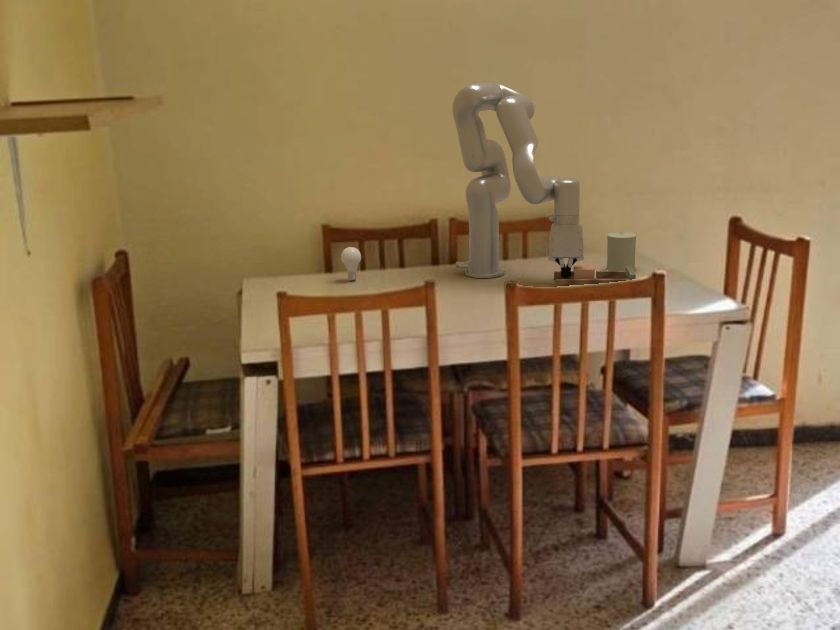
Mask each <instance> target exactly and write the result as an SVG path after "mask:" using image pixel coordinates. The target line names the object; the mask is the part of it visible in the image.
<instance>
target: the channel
mask: <svg viewBox="0 0 840 630" xmlns="http://www.w3.org/2000/svg"><path fill="white" fill-rule="evenodd" d="M636 276H637V275H636V273H635V271H633V269H632V268H631V266H626V270H625V271H607V270H596V272H595V278H594V279H573V270H571V277H569V279H563V277H561V270H554V271H553V280H554V281H555V285H554V286H556V287H557V286H569V285H584V284H599V283H609V282H618V281H626V280H632V279H636ZM556 287H555V288H556Z"/></svg>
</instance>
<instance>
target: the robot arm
mask: <svg viewBox="0 0 840 630" xmlns="http://www.w3.org/2000/svg"><path fill="white" fill-rule="evenodd" d="M452 102H453V103H452V116H453V120H454V125H455V129H456V131H457V137H458V142H459V148H460V153H461V157H462V162H463V165H464V168H466V170H467V171H469V172H470V173H481V175H480V176H477V177H475V178H473V179H472V180H471V181H469V183H467V186H466V190H465V200H466V201H465V202H466V205H467V206H466V207H467V211H468V214H467V215H468V241H469V242H468V244H469V246H468V249H469V252H468V253H469V254H468V255H469V258H468V260H465V261H455V268H456V269H465V270H464V275H466V277H470V278H477V279H490V278H491V279H492V278H498V277H501V276H503V275H504V274H505V271H504V268H502V267H500V224H499V223H500V222H499V221H500V220H499V213H498V209H497V207H496V206H497V205H496V204H499V203H501V202H503V201H505V200H507V198H508V197H509V196H510V194H511V193H510V192H511V190H512V189H511V188H512V186H511V179H510V173H509V168H508V163H507V158H506V155H505V151H504V149H503V148H502V146H501V144H500V143H499V142H497V141H496V140H493V139H487V138H488V137H487V135H486V131H485V126H484V123H483V121H482V118H480V117H481V116H479V114H480V112H483V111H484V112H485V111H493V112H495V113H496V117H497V119H498V123H499V124H500V127H501V130H502V131H503V133H504V135H505V138H506V140H507V143H508V145H509V147H510V149H511V154H512V158H511V159H512V161H511V163H512V172H513V176H514V180H515V182H516V185H517V187H518V190H519V192H520V195H521V196H522V198H523V199H524V200H525V201H526V202H528V204H530V205H531V204H532V205H539V204H543V203H546V202H547V203H548V202H550V201H553V202H554V203H553V215H551V216H550V215H549V217H548V220H549V221H550V222H552V224H551V227H550V232H549V244H548V246H549V247H548V249H549V252H548V253H549V254H548V258H547V260H548V261H551V262H555V263H556V264H558V265H559V267H560V271H561V277H563V279H569V277H571V271H572V268H573V266H574V265H575V264H576V263H577V262H580V261H584V259H585V258H584V257H585V256H584V232H583V225H582V223H580V193H581V192H580V190H581V188H580V187H581V185H580V181H579V180H578V179H577V178H571V177H563V178H560V177H556V176H550V175H545V176H541V177H540V176H539V174H538V171H537V169H536V168H537V167H536V166H535V159H534V157H535V153H536V149H537V147H538V146H539V145H538V144H539V139H538V137H537V134H536V132H535V130H534V128H533V125H532V123H531V119H532V118H533V117H534V114H535V106H534V103H533V100H531V99H530V98H529V97H528V96H527V95H525V94H522V93H520V92H519V91H516V90H514V89H512V88H509V87H507V86H505V85H503V84H500V83H498V82H495V81H491V82H490V81H489V82H488V81H487V82H475V83H470V84H467V85H465V86H463V87H462V88H461V89H460V90H458V92H457V93H456V95H455V97H454V99H453V101H452ZM564 259H567V264H565V262H564V261H565V260H564Z"/></svg>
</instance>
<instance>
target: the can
mask: <svg viewBox="0 0 840 630" xmlns="http://www.w3.org/2000/svg"><path fill="white" fill-rule="evenodd" d="M606 239H607V247H606V248H607V251H606V252H607V254H606V255H607V256H606V270H605V271H607V270H608V271H625V270H626V266H631V268H632V269H633V271H634V272H636V245H637V244H636V243H637V234H636V233H633V232H626V231H625V232H622V231H621V232H619V231H618V232H617V231H616V232H610V233H608V234H607V238H606Z"/></svg>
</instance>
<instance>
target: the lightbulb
mask: <svg viewBox="0 0 840 630" xmlns="http://www.w3.org/2000/svg"><path fill="white" fill-rule="evenodd" d="M340 259H341V262H342V264H343V265H344V266H345V269H346V271H347V279H348V280H349V281H351V282H354V281H355V280H357V270H358V266H359V264H360V263H361V260H362V254H361V252H360V250H359V249H358V248H357V247H353V246H348V247H346V248H344V249H343V250H342V251H341V255H340Z"/></svg>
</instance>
